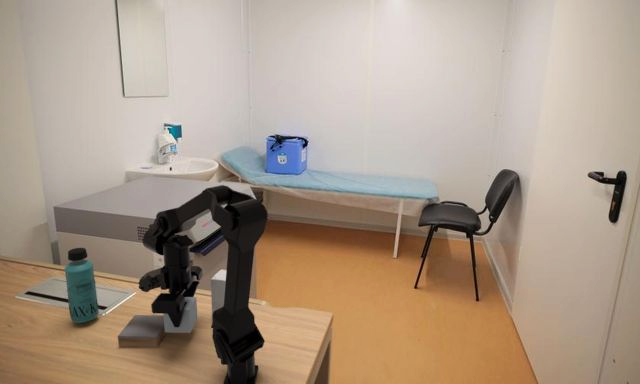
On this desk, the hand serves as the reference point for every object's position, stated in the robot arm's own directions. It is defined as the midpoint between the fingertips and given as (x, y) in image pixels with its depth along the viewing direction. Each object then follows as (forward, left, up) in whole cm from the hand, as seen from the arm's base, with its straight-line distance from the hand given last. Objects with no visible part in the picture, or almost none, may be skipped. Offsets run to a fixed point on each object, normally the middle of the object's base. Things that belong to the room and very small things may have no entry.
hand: (181, 319), depth 97 cm
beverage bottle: (+6, +27, -5) cm, 28 cm away
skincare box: (+10, -8, -5) cm, 14 cm away
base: (0, +9, -5) cm, 10 cm away
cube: (0, 0, -2) cm, 2 cm away
